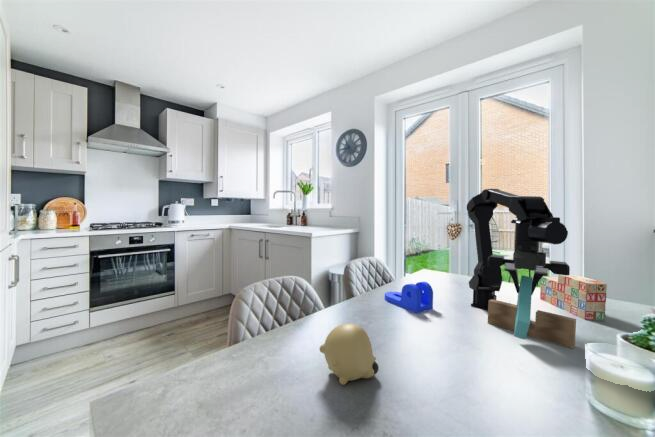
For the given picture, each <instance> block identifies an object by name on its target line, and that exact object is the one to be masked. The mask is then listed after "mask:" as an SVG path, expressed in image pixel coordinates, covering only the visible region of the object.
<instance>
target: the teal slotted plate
mask: <svg viewBox="0 0 655 437" xmlns="http://www.w3.org/2000/svg"><path fill="white" fill-rule="evenodd" d="M532 280H533V276H532V277H531V276H528V275H523V274H522V275H521V278H520V282H519V293H517V300H516V301H517V302H516V305H517V307H518V310H517V315H516V320H515V331H513V337H514V338H518V339H520V340H521V339H522V340H526V339H527V336H528V335H527V332H528V329H529V325H530V320H531V310H532V295H533V294H532ZM531 294H532V295H531Z"/></svg>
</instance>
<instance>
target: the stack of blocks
mask: <svg viewBox="0 0 655 437" xmlns="http://www.w3.org/2000/svg"><path fill="white" fill-rule="evenodd" d="M557 275H558V276H543V277H542V278H541V279H540V280H539V283H540V288H539V289H540V292H539V293H540V295H539V299H540V300H542V301H544V302H546V303H548V304H551V305H552V306H555V307H556V308H559V309H561V310H563V311H565V312H567V313H569V314H572V315H574V316H576V317H578V318H579V319H582V320H586V321H605V319H606V303H607V288H608V283H604V282H601V281H598V280H596V279H593V278H588V277H585V276H581V275H577V274H569V275H559V274H557Z"/></svg>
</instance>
